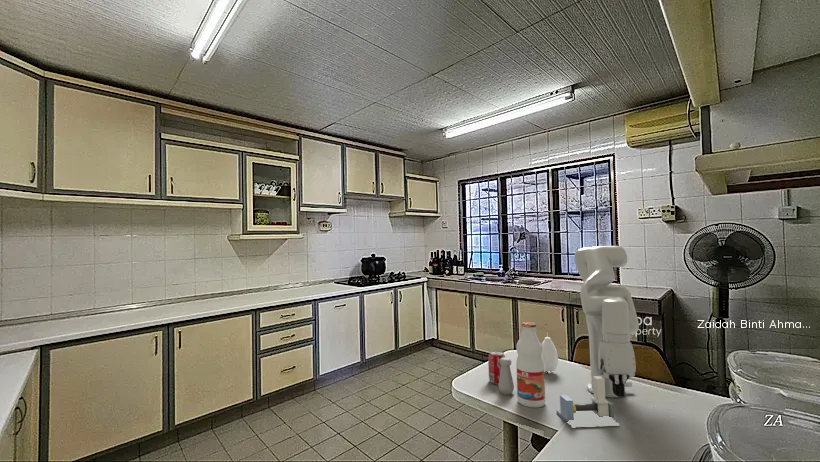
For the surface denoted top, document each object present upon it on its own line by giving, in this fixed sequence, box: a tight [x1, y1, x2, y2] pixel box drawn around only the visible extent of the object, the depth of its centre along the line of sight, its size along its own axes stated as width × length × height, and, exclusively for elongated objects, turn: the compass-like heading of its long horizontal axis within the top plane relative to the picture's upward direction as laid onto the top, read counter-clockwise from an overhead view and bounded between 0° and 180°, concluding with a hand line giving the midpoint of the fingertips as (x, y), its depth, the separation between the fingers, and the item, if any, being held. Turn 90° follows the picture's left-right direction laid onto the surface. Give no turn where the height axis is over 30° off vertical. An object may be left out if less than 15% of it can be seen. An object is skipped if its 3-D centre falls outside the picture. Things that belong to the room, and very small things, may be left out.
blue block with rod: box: [556, 394, 615, 424], centre depth 112 cm, size 15×10×7 cm, turn 93°
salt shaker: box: [497, 356, 515, 396], centre depth 134 cm, size 6×6×13 cm
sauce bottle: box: [541, 331, 559, 372], centre depth 156 cm, size 8×8×18 cm
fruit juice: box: [515, 321, 546, 409], centre depth 126 cm, size 9×9×28 cm
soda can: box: [487, 350, 506, 386], centre depth 145 cm, size 7×7×12 cm
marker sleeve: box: [591, 376, 609, 417], centre depth 112 cm, size 3×4×11 cm
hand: (618, 395), depth 113 cm, fingers closed
